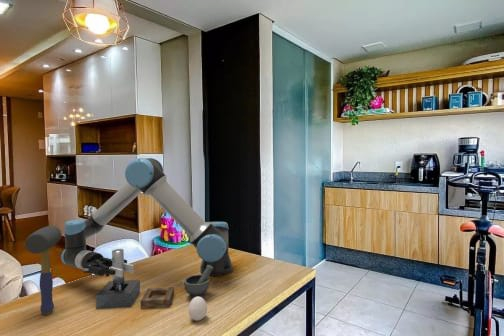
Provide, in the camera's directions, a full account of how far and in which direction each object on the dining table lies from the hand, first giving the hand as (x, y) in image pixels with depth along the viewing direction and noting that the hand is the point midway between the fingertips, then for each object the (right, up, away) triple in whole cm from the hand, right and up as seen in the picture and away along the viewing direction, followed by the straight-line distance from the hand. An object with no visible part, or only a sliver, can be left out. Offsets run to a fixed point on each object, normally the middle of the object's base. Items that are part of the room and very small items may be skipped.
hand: (127, 271), depth 110 cm
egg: (+28, -12, -11) cm, 33 cm away
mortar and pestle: (+26, -12, +5) cm, 29 cm away
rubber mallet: (-26, -13, -6) cm, 29 cm away
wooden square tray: (+11, -12, +2) cm, 16 cm away
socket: (-4, -12, +3) cm, 13 cm away
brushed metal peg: (-4, -9, +3) cm, 10 cm away
